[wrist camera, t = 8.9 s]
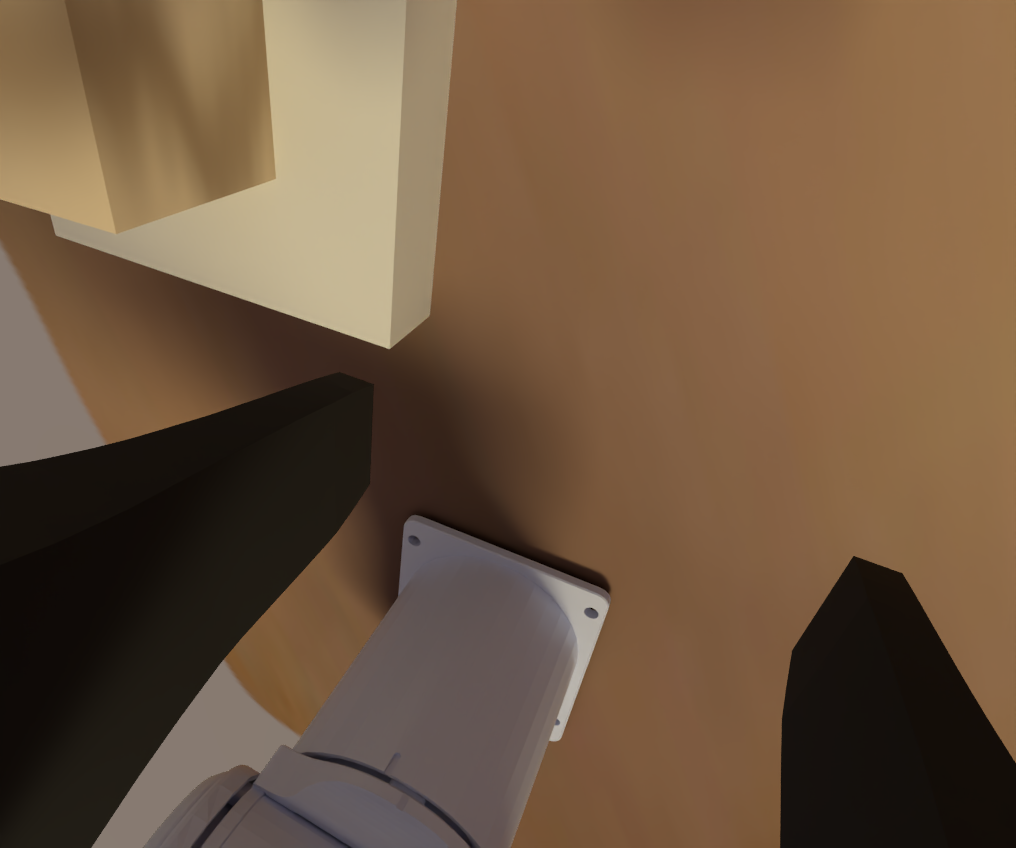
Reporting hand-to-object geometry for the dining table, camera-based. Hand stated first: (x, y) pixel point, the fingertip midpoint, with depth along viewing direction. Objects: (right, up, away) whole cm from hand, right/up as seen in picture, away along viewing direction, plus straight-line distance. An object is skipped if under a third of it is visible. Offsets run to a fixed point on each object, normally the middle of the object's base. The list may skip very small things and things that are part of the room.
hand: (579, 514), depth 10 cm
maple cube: (-9, +10, +6) cm, 15 cm away
